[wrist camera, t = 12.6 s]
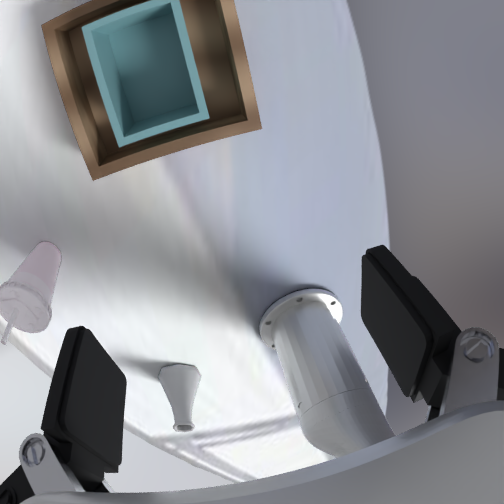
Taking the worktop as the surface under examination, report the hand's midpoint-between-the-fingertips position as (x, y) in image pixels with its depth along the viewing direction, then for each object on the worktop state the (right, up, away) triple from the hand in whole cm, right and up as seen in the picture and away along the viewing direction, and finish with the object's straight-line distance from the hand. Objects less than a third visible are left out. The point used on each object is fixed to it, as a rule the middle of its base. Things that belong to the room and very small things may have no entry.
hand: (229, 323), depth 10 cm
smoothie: (-23, +2, +22) cm, 32 cm away
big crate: (-8, +19, +14) cm, 25 cm away
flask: (-11, -18, +39) cm, 44 cm away
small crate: (-8, +18, +13) cm, 24 cm away
